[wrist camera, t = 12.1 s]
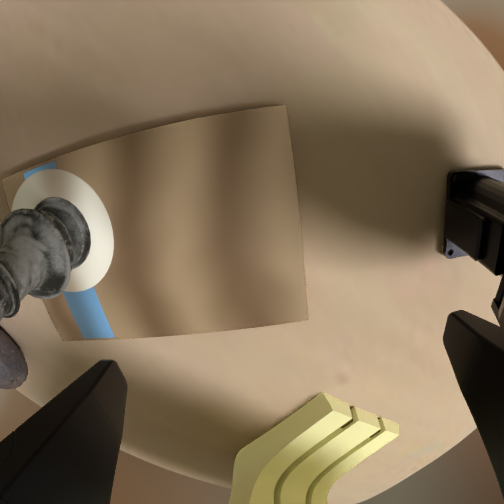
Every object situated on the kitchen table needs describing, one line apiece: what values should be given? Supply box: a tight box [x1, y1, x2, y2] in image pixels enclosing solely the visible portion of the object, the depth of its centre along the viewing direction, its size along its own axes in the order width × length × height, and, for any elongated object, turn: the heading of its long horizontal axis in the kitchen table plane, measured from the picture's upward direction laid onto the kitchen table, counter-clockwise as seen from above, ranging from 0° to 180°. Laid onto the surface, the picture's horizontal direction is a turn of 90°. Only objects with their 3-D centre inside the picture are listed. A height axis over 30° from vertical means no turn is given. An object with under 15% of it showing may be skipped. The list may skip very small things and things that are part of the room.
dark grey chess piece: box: [0, 197, 91, 320], centre depth 13 cm, size 6×6×12 cm
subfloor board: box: [1, 105, 308, 341], centre depth 20 cm, size 20×14×1 cm
